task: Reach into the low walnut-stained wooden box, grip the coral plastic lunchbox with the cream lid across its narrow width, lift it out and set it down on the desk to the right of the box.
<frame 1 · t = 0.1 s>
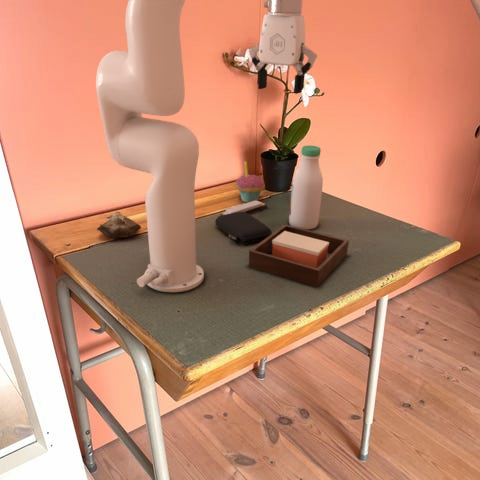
hand: (279, 90, 121), 31 cm above the table, tool pointing down, fingers open, 9 cm apart
cupcake: (249, 200, 146), on the table
wooden box: (298, 261, 114), on the table
lunchbox: (299, 251, 113), in the wooden box
carrying case: (240, 233, 126), on the table
harmonica: (244, 213, 137), on the table
fossilized seashell: (120, 236, 123), on the table
milk bottle: (303, 225, 132), on the table
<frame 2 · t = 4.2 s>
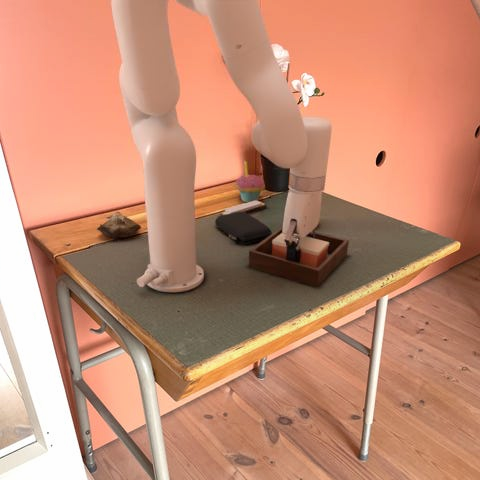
hand: (299, 257, 113), 1 cm above the table, tool pointing down, fingers closed on lunchbox, 6 cm apart
lunchbox: (299, 251, 113), in the wooden box, touching gripper
everything else where it was.
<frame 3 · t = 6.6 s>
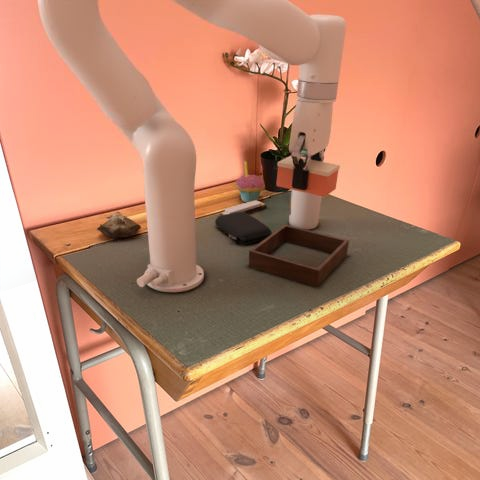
hand: (306, 183, 104), 18 cm above the table, tool pointing down, fingers closed on lunchbox, 6 cm apart
lunchbox: (307, 175, 103), point 20 cm above the table, touching gripper
everything else where it was.
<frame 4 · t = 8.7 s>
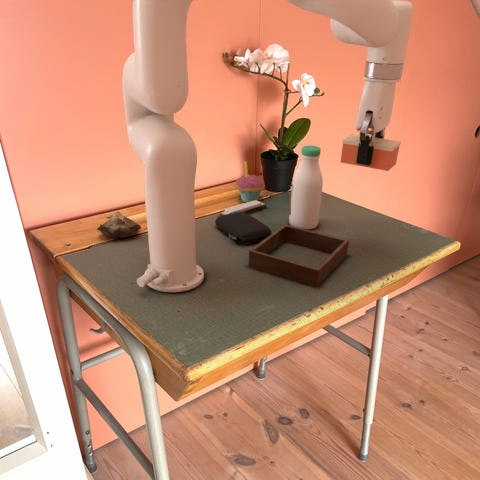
hand: (368, 159, 111), 20 cm above the table, tool pointing down, fingers closed on lunchbox, 6 cm apart
lunchbox: (369, 152, 111), point 22 cm above the table, touching gripper
everything else where it was.
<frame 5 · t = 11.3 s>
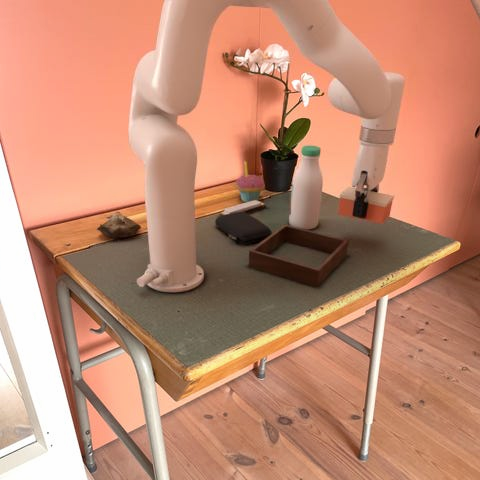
hand: (364, 211, 119), 8 cm above the table, tool pointing down, fingers closed on lunchbox, 6 cm apart
lunchbox: (365, 205, 118), point 10 cm above the table, touching gripper
everything else where it was.
when the fingers open (1 cm above the table, at t = 13.4 s): lunchbox stays where it is, on the table.
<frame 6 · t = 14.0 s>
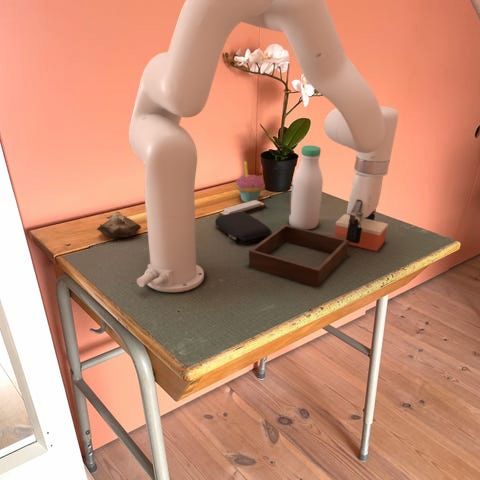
hand: (359, 234, 123), 2 cm above the table, tool pointing down, fingers open, 9 cm apart
lunchbox: (360, 232, 122), on the table
everything else where it was.
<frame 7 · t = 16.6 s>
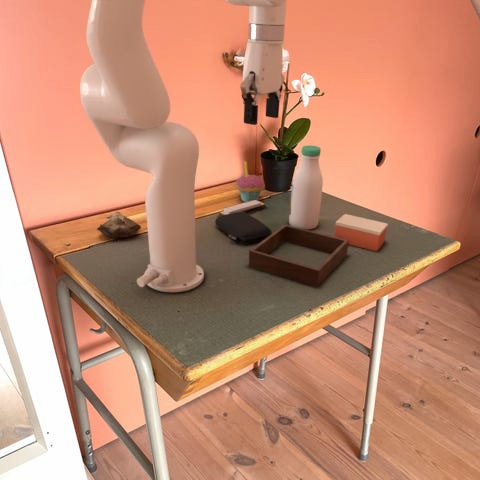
hand: (261, 120, 114), 27 cm above the table, tool pointing down, fingers open, 9 cm apart
nothing on the table moved.
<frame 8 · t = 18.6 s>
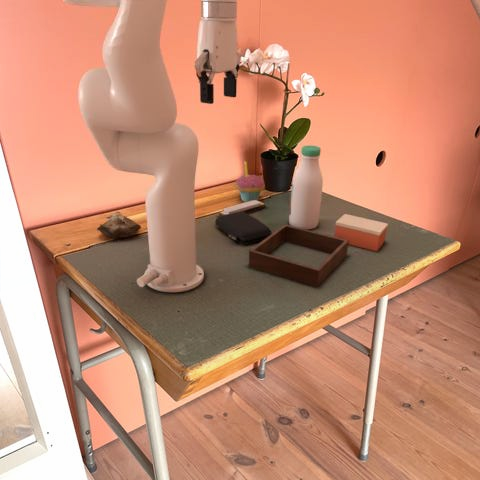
hand: (218, 99, 114), 30 cm above the table, tool pointing down, fingers open, 9 cm apart
nothing on the table moved.
at the end: lunchbox inside the target area (0.1 cm from its centre), on the table; lunchbox tilted 0°; the gripper is holding nothing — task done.
